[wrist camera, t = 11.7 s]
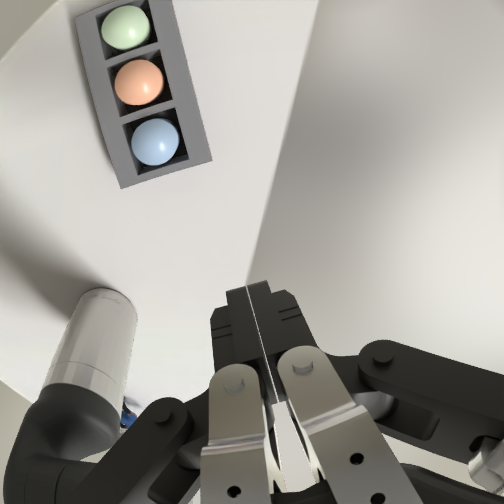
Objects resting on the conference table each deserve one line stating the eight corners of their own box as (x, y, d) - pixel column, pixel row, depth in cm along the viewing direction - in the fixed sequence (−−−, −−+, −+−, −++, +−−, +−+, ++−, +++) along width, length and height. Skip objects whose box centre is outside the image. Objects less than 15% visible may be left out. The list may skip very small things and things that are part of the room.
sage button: (155, 43, 27) (151, 37, 24) (115, 57, 27) (106, 53, 24) (147, 8, 25) (142, -1, 22) (107, 22, 25) (97, 15, 22)
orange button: (169, 96, 30) (166, 96, 27) (128, 110, 30) (121, 111, 27) (159, 58, 28) (155, 53, 25) (118, 72, 28) (110, 69, 25)
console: (211, 154, 35) (212, 160, 31) (128, 180, 35) (120, 189, 31) (170, -5, 26) (167, -16, 22) (86, 25, 25) (74, 18, 22)
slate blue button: (184, 152, 33) (182, 157, 30) (144, 164, 33) (139, 171, 30) (173, 112, 31) (170, 113, 28) (133, 125, 31) (126, 128, 28)
